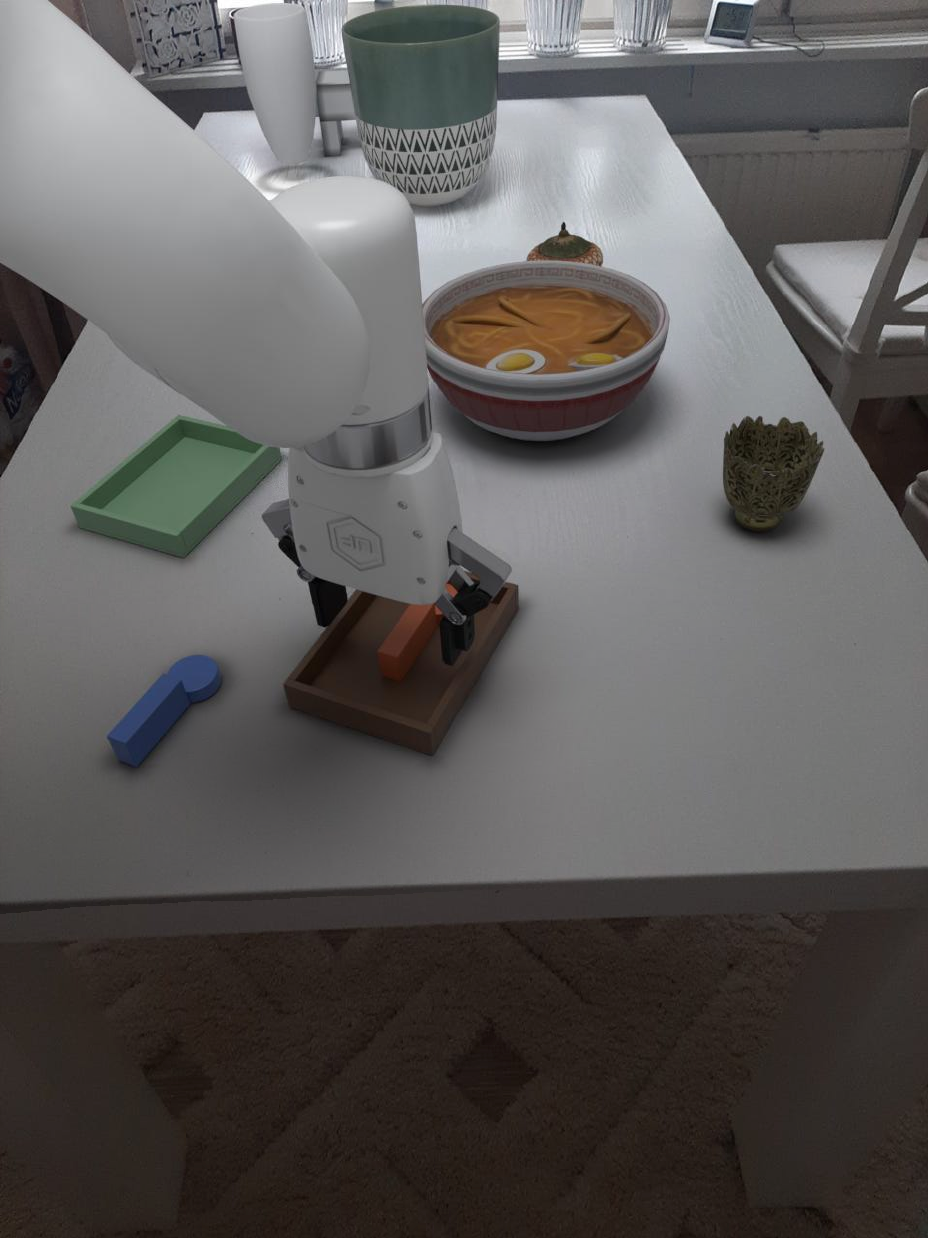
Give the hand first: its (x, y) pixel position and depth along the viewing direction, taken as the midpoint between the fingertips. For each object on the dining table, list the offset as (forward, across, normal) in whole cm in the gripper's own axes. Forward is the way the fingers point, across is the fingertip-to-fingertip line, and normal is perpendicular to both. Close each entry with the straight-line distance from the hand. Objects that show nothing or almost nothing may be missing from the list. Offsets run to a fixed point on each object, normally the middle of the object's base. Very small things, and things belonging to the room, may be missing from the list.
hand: (393, 632), depth 65 cm
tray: (+4, 0, +2) cm, 4 cm away
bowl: (+4, -3, +36) cm, 36 cm away
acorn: (+4, -8, +56) cm, 57 cm away
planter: (+4, -37, +82) cm, 90 cm away
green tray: (+4, -28, +12) cm, 31 cm away
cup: (+4, -60, +83) cm, 103 cm away
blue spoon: (+4, -13, -10) cm, 17 cm away
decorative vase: (+4, +20, +26) cm, 33 cm away
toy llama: (+4, -57, +99) cm, 114 cm away
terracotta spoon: (+3, 0, +3) cm, 5 cm away
